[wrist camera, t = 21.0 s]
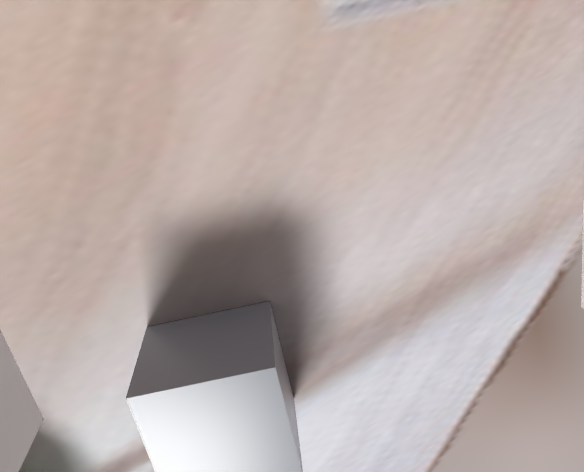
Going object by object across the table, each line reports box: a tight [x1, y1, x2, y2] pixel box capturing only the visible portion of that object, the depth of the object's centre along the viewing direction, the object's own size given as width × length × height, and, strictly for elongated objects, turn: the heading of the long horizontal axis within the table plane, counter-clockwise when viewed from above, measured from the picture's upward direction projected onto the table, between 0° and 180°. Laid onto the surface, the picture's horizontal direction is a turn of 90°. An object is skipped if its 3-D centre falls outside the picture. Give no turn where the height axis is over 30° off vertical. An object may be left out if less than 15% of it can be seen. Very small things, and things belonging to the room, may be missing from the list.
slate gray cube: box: [126, 301, 303, 472], centre depth 43 cm, size 10×10×9 cm
